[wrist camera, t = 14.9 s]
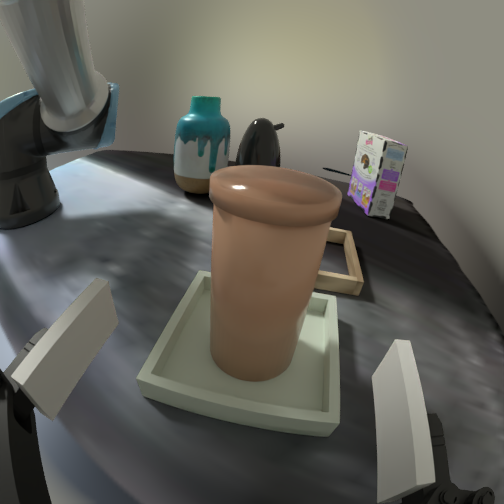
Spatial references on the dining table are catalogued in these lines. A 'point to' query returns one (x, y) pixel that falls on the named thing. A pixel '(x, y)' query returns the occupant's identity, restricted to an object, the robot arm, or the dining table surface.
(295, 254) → the canister
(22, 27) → the robot arm
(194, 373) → the green tray
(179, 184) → the vase
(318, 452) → the dining table surface
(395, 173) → the candy box
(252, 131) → the pump dispenser
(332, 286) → the oak corral
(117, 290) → the dining table surface
